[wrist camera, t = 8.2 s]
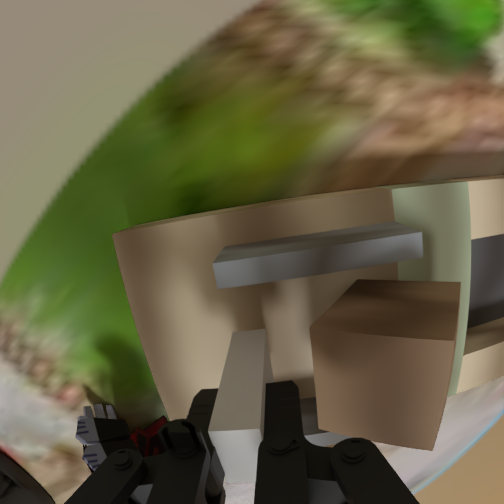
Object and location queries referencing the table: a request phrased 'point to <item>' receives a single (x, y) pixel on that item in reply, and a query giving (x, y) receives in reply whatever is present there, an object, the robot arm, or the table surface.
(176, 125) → the table surface
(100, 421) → the toy
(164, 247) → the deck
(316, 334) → the block
